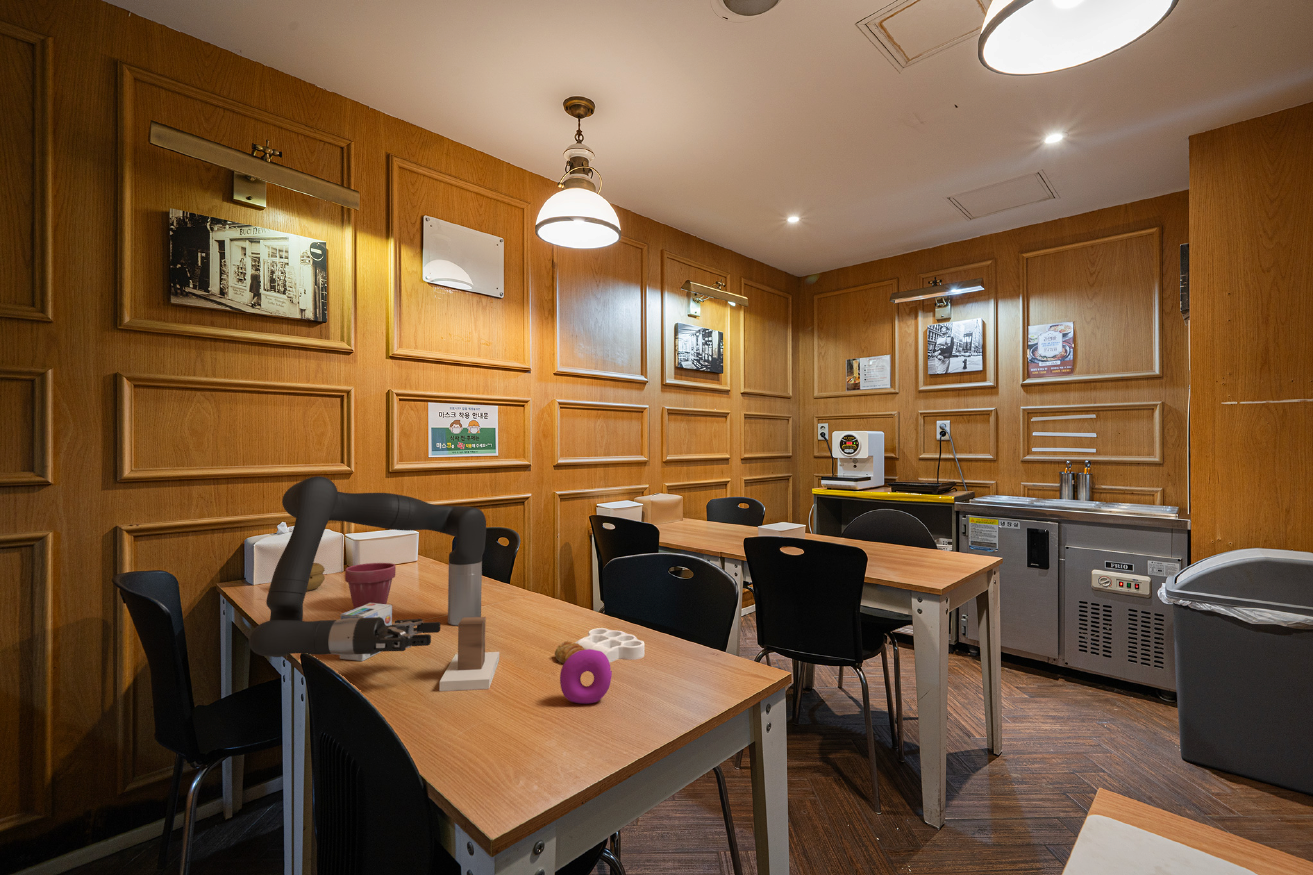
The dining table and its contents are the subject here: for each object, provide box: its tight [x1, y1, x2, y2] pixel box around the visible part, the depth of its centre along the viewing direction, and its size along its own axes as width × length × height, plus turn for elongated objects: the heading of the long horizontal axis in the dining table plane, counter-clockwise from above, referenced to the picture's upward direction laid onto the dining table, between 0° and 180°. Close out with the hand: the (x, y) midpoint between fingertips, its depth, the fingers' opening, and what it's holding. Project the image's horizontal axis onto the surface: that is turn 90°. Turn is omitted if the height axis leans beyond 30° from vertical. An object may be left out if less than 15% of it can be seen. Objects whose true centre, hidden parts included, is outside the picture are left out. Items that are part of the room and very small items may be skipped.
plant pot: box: [344, 562, 397, 609], centre depth 177 cm, size 14×14×13 cm
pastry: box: [554, 640, 585, 665], centre depth 134 cm, size 9×7×4 cm
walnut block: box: [457, 616, 486, 670], centre depth 126 cm, size 5×5×10 cm
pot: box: [306, 562, 326, 592], centre depth 197 cm, size 12×12×10 cm
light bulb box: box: [339, 603, 393, 662], centre depth 138 cm, size 11×7×11 cm, turn 168°
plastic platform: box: [439, 651, 500, 692], centre depth 125 cm, size 16×10×2 cm, turn 8°
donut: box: [559, 649, 613, 704], centre depth 113 cm, size 8×9×10 cm
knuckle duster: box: [575, 627, 645, 664], centre depth 141 cm, size 3×18×15 cm
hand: (435, 633), depth 124 cm, fingers open, 8 cm apart
